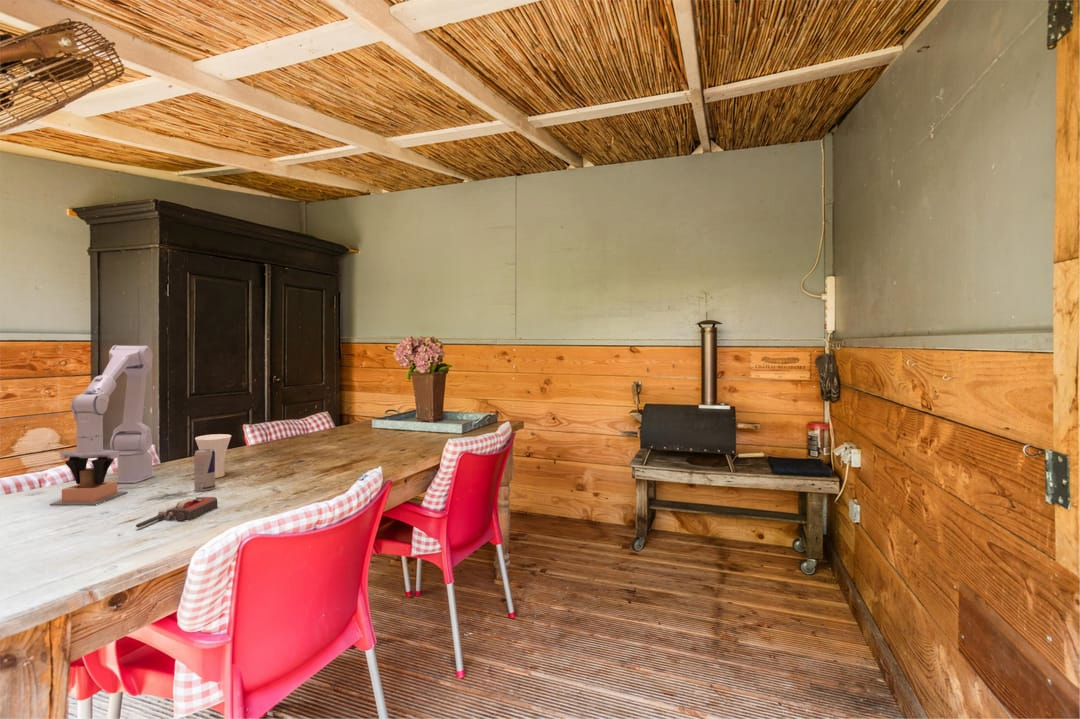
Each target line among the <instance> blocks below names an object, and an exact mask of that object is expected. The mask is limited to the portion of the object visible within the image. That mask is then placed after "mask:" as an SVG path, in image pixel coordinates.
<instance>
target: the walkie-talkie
mask: <svg viewBox="0 0 1080 719" xmlns="http://www.w3.org/2000/svg"><path fill="white" fill-rule="evenodd" d="M215 508H216V509H218V498H217V497H214V496H195V498H186V499H185V500H181V501H179V502H178V503H176V505H175V506H170V507H168V508H166V509H164V510H163V509H162V510H161V511H158V514H157V515H156V516H153V517H151V518H148V519H146V520H144V521H141V522H139V523H137V524H136V525H135V527H136V528H142V527H144V526H146V525H149V524H152V523H154V522H156V521H159V520H165V521H180V522H181V521H182V522H183V520H189V521H192V520H195V519H196V517H197V518H199V517H201V516H203V515H205V514H207V513H209V512H208V511H210V512H211V511H213V510H212V509H214V510H216V509H215ZM206 512H207V513H206ZM204 513H205V514H204ZM202 514H203V515H202ZM200 515H201V516H200ZM198 516H199V517H198ZM191 519H192V520H191Z"/></svg>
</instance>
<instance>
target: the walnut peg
mask: <svg viewBox="0 0 1080 719" xmlns="http://www.w3.org/2000/svg"><path fill="white" fill-rule="evenodd" d="M79 473H80V488H94V487H97V486H99V484H96V482H95V471H94V467H91V468H86V469H83V470H80V471H79Z"/></svg>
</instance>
